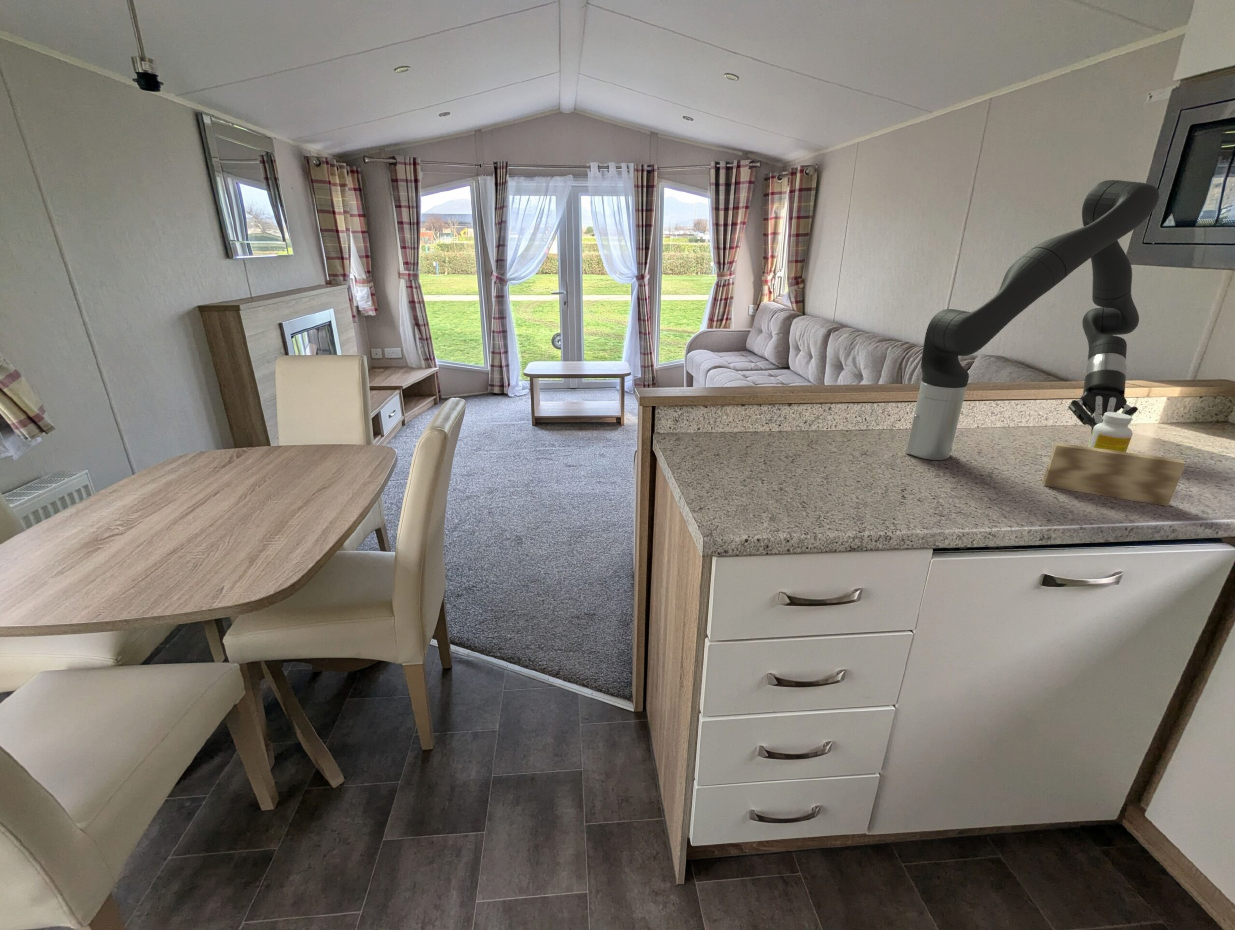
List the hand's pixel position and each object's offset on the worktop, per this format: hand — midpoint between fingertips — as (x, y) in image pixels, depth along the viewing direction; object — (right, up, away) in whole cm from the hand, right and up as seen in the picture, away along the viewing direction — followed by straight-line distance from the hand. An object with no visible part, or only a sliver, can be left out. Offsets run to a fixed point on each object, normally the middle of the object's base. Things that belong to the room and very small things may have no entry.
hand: (1099, 440), depth 131 cm
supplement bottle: (-3, -7, -3) cm, 8 cm away
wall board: (-11, -11, -13) cm, 20 cm away
